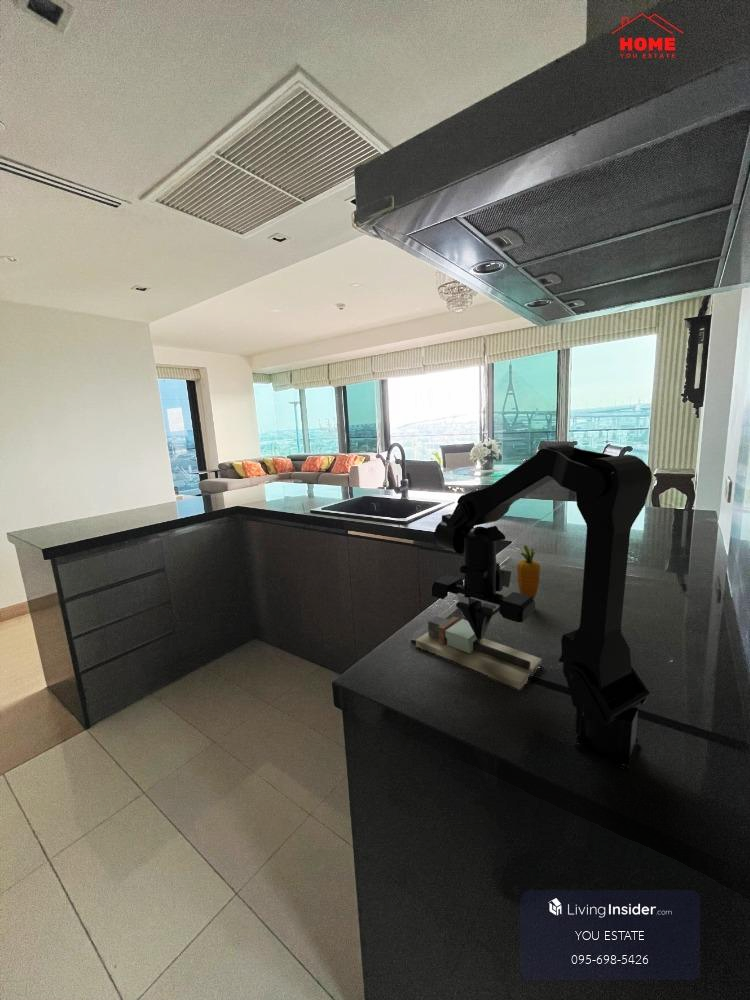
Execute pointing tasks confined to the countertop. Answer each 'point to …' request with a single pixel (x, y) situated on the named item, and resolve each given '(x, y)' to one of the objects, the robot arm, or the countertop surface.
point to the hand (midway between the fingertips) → (480, 638)
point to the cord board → (480, 654)
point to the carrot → (528, 574)
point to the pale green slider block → (462, 636)
